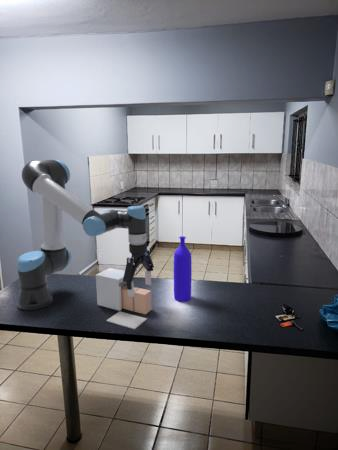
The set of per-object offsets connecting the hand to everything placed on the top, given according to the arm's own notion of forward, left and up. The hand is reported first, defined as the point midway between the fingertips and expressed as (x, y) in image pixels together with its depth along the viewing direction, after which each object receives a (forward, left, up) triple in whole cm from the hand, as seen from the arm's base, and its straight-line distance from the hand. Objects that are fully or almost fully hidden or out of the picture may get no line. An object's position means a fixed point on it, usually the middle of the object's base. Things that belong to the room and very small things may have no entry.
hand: (140, 290), depth 147 cm
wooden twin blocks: (-4, 0, -9) cm, 10 cm away
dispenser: (-14, 0, -9) cm, 17 cm away
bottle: (+11, +19, -9) cm, 24 cm away
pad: (0, -11, -9) cm, 14 cm away
